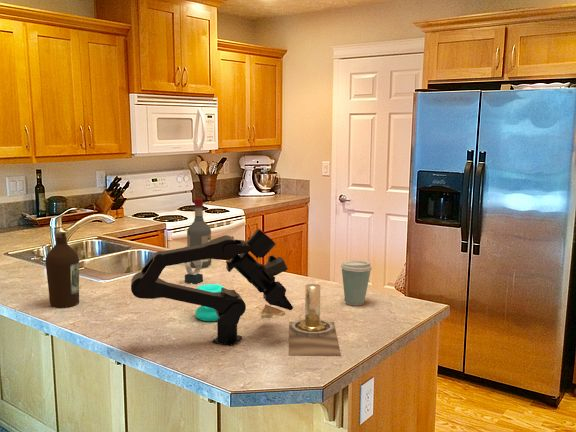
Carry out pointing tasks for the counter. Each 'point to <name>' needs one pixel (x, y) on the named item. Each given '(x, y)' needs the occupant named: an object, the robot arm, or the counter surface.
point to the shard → (271, 312)
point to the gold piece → (312, 310)
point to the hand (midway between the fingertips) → (287, 304)
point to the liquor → (199, 231)
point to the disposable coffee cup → (355, 281)
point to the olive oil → (62, 274)
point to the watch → (194, 273)
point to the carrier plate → (313, 341)
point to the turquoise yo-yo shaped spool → (208, 312)
